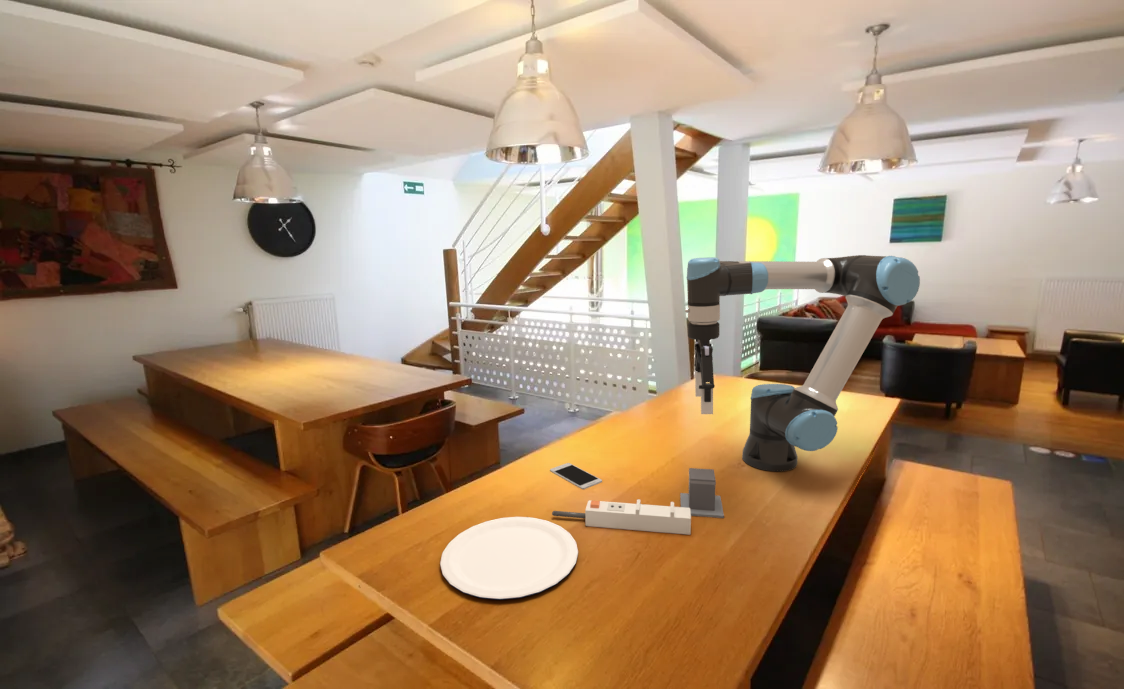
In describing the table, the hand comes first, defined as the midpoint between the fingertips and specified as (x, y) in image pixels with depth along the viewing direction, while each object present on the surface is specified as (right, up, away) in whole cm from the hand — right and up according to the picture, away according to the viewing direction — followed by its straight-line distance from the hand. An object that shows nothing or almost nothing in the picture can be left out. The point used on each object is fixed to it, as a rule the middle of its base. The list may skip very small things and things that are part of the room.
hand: (703, 404), depth 133 cm
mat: (-1, -25, -2) cm, 25 cm away
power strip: (-22, -27, -9) cm, 36 cm away
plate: (-47, -31, -20) cm, 60 cm away
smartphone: (-32, -23, +17) cm, 43 cm away
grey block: (-1, -24, -2) cm, 25 cm away
